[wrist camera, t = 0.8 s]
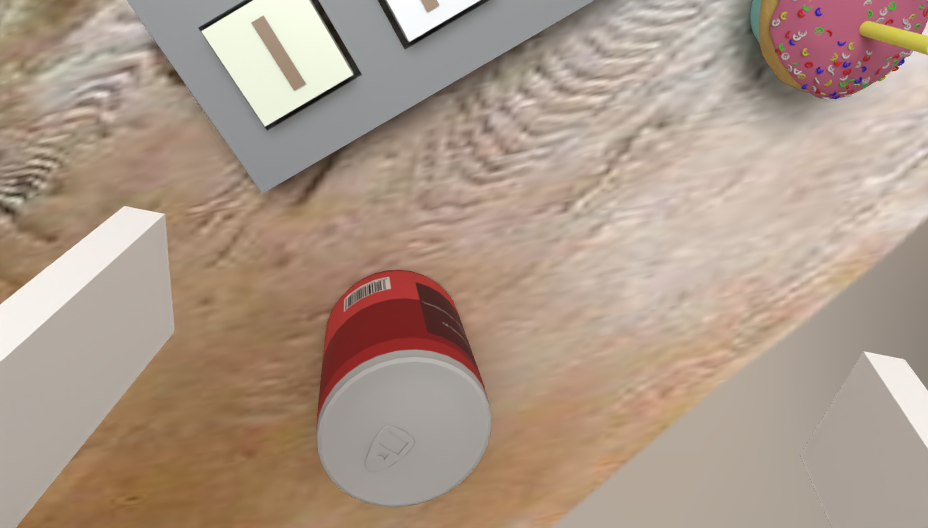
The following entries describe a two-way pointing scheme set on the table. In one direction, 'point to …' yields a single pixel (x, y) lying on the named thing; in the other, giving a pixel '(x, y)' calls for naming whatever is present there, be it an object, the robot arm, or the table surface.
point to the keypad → (356, 98)
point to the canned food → (399, 393)
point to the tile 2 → (424, 14)
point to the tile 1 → (278, 54)
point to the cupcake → (837, 41)
